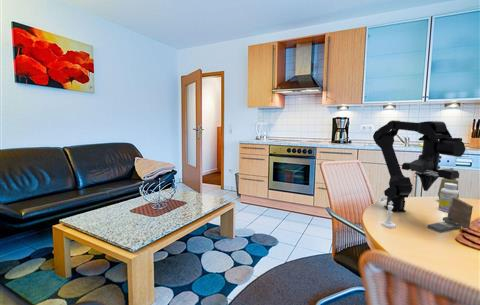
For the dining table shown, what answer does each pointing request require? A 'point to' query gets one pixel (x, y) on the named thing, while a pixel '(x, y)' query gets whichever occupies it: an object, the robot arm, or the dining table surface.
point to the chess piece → (389, 218)
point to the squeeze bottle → (447, 182)
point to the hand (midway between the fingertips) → (425, 190)
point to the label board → (444, 225)
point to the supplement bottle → (447, 195)
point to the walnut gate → (460, 212)
